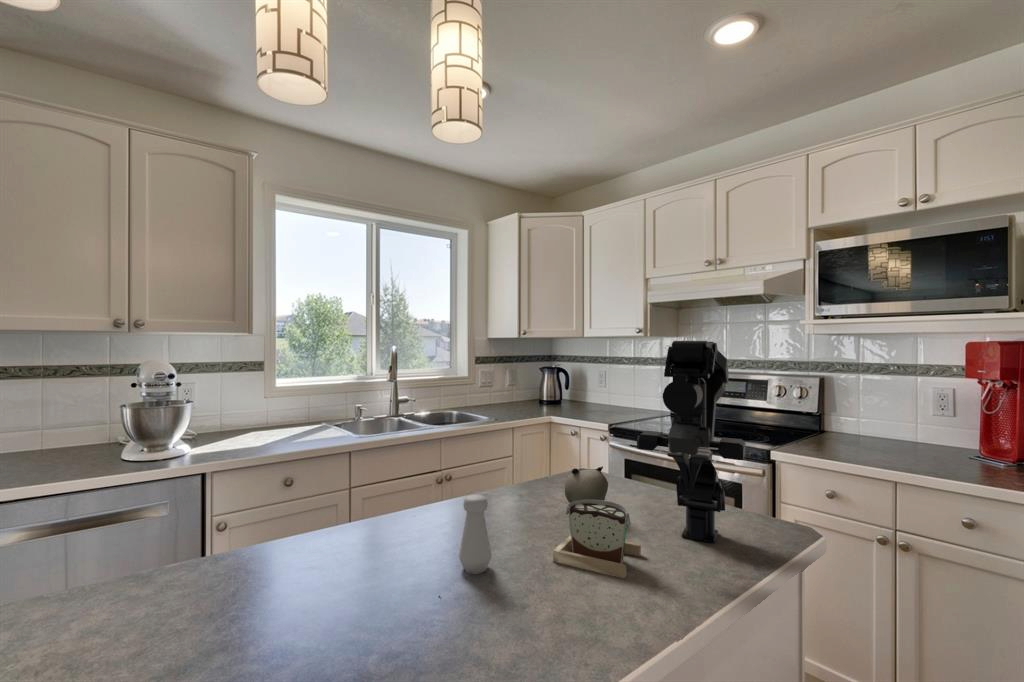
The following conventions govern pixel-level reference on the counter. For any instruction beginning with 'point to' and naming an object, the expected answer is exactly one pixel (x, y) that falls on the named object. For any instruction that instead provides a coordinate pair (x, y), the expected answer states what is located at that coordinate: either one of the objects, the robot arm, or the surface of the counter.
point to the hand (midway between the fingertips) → (689, 490)
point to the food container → (598, 529)
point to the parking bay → (593, 559)
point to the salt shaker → (475, 536)
